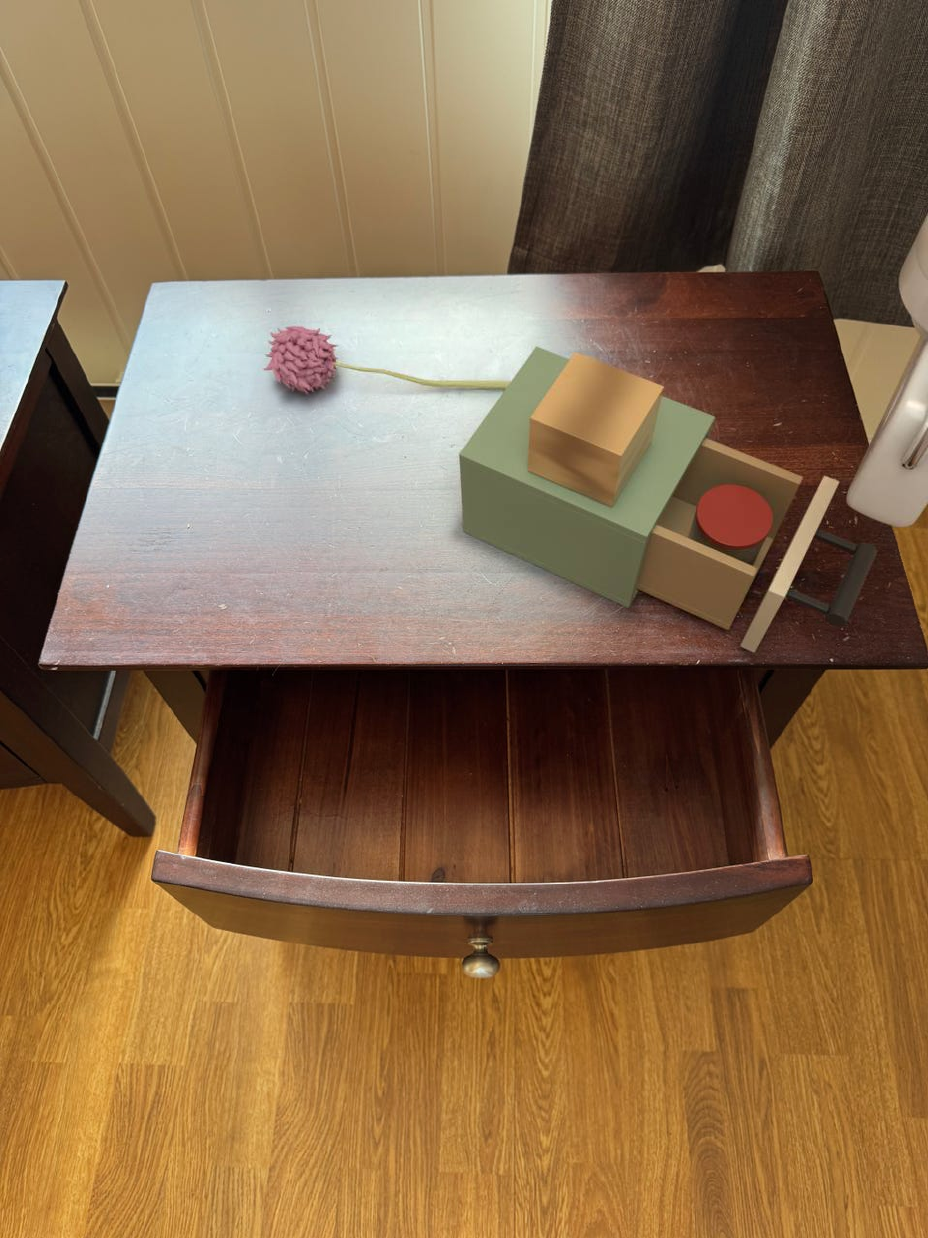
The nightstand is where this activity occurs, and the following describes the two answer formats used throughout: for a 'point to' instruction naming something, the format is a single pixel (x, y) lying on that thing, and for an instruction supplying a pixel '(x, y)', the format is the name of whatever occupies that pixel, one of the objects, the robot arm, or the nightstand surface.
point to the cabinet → (557, 516)
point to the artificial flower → (329, 362)
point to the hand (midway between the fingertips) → (895, 450)
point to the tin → (732, 521)
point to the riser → (593, 428)
